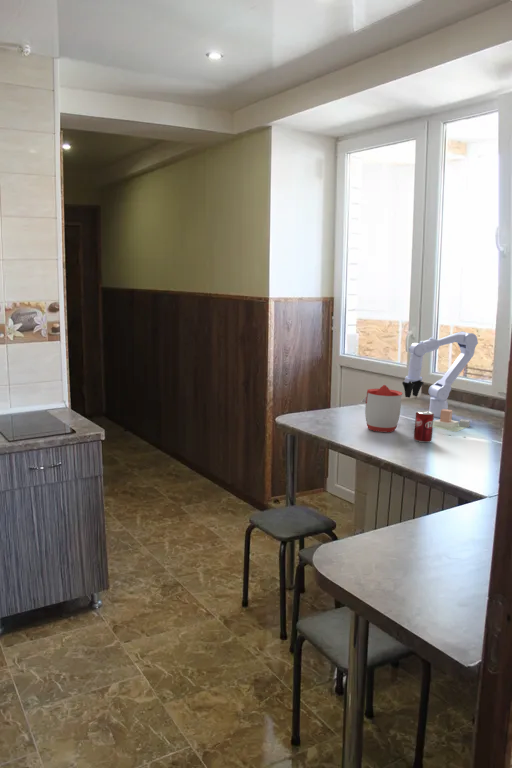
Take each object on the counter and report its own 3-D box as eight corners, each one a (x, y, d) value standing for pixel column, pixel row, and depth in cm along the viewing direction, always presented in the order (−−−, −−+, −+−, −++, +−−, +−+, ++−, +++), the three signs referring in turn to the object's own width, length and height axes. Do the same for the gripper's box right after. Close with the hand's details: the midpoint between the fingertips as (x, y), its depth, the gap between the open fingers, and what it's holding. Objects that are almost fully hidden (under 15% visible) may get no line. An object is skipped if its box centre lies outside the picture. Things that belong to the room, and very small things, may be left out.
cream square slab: (441, 422, 299) (442, 418, 298) (458, 425, 294) (458, 421, 293) (434, 425, 293) (434, 420, 292) (450, 428, 288) (451, 424, 287)
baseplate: (436, 421, 304) (437, 419, 304) (470, 428, 294) (470, 425, 294) (421, 427, 292) (421, 425, 292) (455, 434, 282) (455, 431, 282)
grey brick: (460, 424, 297) (460, 419, 296) (469, 425, 295) (470, 420, 294) (459, 426, 293) (459, 420, 292) (468, 427, 291) (468, 421, 291)
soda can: (432, 439, 271) (434, 411, 269) (430, 443, 264) (433, 415, 262) (414, 437, 273) (416, 409, 271) (412, 441, 266) (415, 413, 264)
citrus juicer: (360, 423, 294) (363, 380, 290) (399, 427, 291) (402, 383, 287) (358, 431, 279) (361, 386, 275) (399, 435, 276) (403, 389, 272)
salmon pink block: (442, 419, 296) (443, 408, 295) (451, 421, 294) (452, 410, 293) (439, 421, 292) (441, 410, 292) (448, 422, 290) (449, 411, 289)
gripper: (414, 366, 314) (410, 393, 316) (400, 367, 303) (396, 396, 305) (427, 368, 310) (423, 396, 312) (413, 370, 299) (410, 399, 301)
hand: (411, 396), depth 308 cm, fingers open, 7 cm apart
